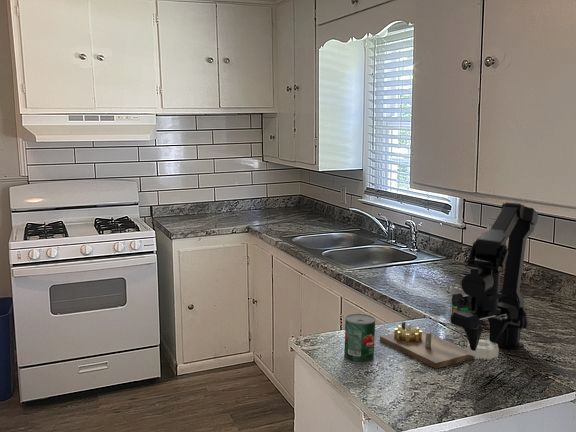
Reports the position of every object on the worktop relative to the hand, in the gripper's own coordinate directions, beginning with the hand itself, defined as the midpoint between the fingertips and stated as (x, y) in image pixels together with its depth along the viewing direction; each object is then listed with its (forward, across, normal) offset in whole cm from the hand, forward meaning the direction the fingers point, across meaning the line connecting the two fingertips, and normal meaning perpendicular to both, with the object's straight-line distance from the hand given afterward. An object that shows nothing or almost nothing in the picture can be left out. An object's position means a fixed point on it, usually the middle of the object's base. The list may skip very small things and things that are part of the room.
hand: (482, 347), depth 151 cm
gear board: (+6, +3, -17) cm, 18 cm away
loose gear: (+2, 0, 0) cm, 2 cm away
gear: (+4, +4, -23) cm, 24 cm away
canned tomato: (+6, +23, -21) cm, 32 cm away
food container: (+6, -27, -31) cm, 42 cm away
